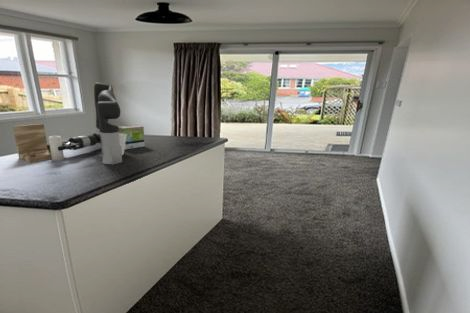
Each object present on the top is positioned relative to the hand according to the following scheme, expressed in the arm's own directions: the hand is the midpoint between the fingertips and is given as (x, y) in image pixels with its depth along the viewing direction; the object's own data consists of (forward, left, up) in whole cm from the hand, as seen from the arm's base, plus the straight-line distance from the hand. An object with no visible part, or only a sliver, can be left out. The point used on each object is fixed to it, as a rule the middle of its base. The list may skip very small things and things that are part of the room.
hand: (52, 147), depth 136 cm
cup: (-16, -28, -7) cm, 33 cm away
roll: (0, -2, -7) cm, 7 cm away
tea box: (-6, -46, -7) cm, 47 cm away
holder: (+12, +2, -7) cm, 14 cm away
